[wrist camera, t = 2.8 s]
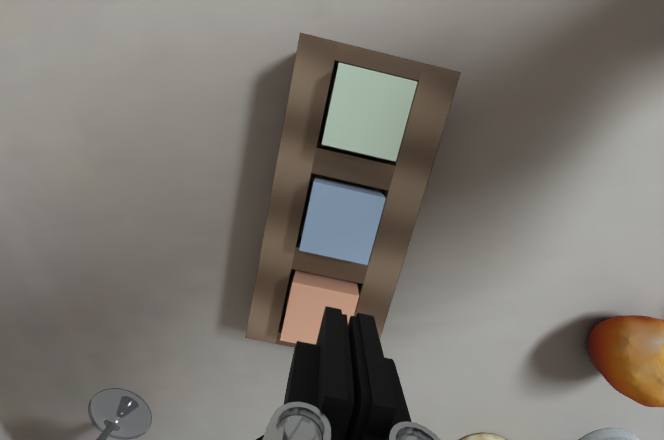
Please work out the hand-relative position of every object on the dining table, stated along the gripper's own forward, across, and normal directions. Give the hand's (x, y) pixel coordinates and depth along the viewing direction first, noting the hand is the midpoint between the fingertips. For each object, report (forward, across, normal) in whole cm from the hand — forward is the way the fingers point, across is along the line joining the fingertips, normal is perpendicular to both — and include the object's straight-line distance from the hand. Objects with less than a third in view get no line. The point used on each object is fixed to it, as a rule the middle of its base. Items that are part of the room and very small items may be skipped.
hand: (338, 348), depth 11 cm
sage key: (+18, -1, -9) cm, 20 cm away
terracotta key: (+18, -1, +8) cm, 19 cm away
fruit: (+20, -32, +6) cm, 38 cm away
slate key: (+18, -1, -1) cm, 18 cm away
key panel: (+20, -1, -1) cm, 20 cm away
